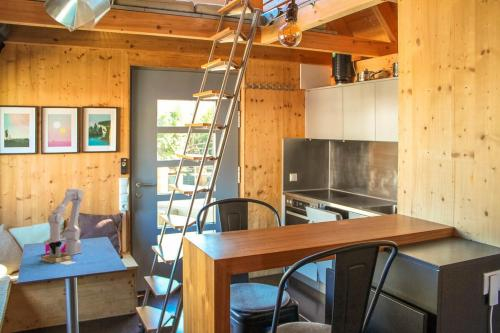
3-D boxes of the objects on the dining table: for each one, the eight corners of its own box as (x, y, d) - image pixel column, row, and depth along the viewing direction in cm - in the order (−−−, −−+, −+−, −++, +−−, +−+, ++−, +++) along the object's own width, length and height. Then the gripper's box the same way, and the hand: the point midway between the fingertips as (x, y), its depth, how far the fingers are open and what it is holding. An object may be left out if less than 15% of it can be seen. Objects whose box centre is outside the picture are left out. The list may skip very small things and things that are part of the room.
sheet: (51, 254, 288) (51, 245, 287) (60, 256, 282) (60, 247, 282) (49, 255, 286) (49, 245, 286) (58, 257, 281) (58, 247, 281)
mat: (71, 260, 284) (71, 260, 284) (79, 262, 280) (79, 261, 280) (58, 263, 277) (58, 262, 277) (66, 265, 273) (66, 264, 273)
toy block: (68, 251, 311) (68, 241, 311) (69, 253, 306) (69, 242, 305) (45, 254, 304) (45, 243, 304) (45, 255, 299) (45, 244, 298)
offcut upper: (61, 254, 291) (61, 252, 291) (68, 256, 287) (68, 253, 287) (58, 255, 289) (58, 253, 289) (65, 256, 285) (65, 254, 285)
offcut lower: (59, 256, 292) (59, 254, 292) (69, 258, 287) (69, 256, 287) (56, 257, 290) (56, 255, 290) (65, 259, 285) (65, 257, 285)
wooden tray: (59, 256, 295) (59, 252, 295) (72, 259, 287) (72, 255, 287) (41, 260, 284) (41, 256, 284) (54, 263, 276) (54, 259, 276)
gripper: (61, 230, 292) (61, 250, 292) (40, 233, 280) (41, 255, 280) (68, 231, 288) (68, 252, 289) (47, 234, 276) (47, 256, 276)
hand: (55, 253), depth 284 cm, fingers closed on sheet
